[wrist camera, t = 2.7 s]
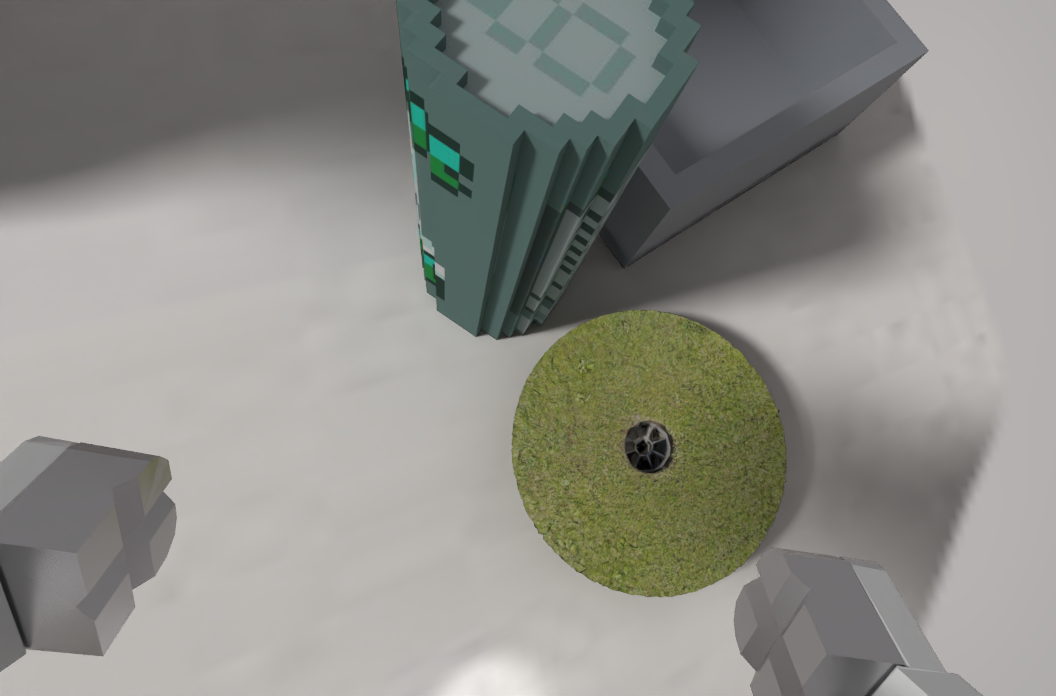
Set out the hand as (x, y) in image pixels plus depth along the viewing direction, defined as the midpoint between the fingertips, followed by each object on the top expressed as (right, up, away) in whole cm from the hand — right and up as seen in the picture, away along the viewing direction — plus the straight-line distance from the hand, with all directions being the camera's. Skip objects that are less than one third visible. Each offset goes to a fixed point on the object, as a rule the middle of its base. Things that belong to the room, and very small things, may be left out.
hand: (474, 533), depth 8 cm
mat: (+5, -2, +18) cm, 19 cm away
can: (-1, +6, +19) cm, 20 cm away
